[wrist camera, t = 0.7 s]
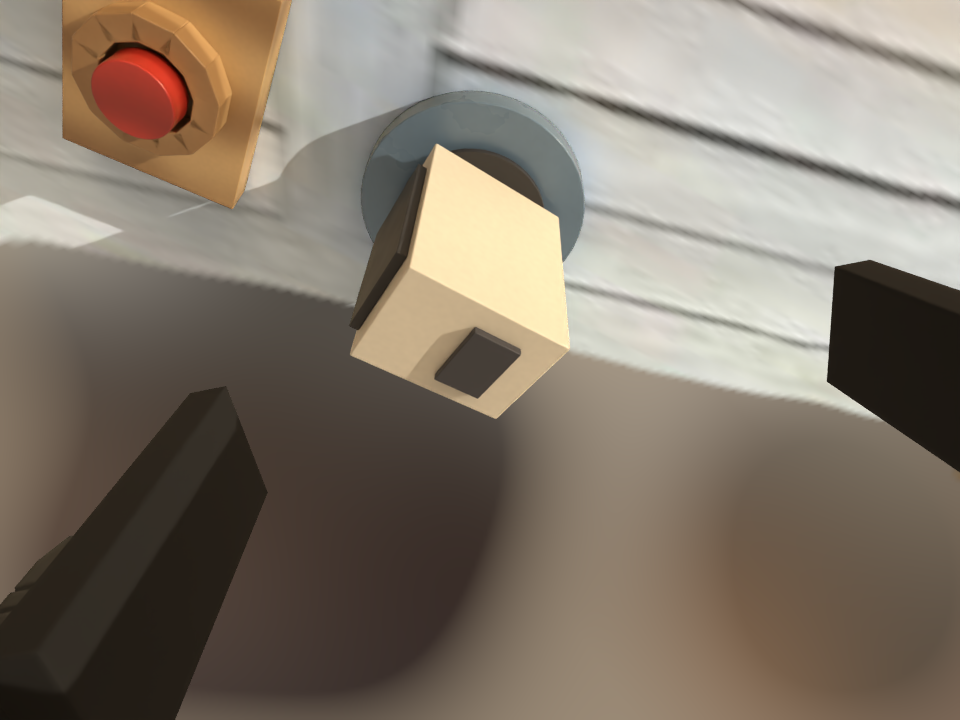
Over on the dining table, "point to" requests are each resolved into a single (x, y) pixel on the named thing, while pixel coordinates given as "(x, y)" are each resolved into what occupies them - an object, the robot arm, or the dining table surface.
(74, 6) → the button block
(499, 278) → the panel
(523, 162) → the swivel base
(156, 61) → the button
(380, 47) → the dining table surface
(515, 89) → the dining table surface
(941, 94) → the dining table surface
